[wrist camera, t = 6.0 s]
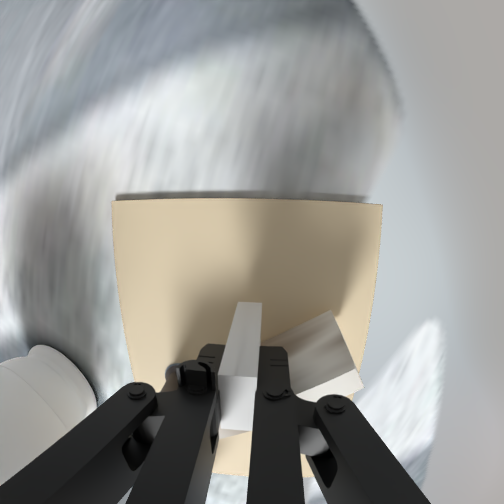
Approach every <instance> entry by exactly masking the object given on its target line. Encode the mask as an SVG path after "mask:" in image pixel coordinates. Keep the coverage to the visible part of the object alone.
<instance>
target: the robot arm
mask: <svg viewBox="0 0 504 504" xmlns="http://www.w3.org/2000/svg"><path fill="white" fill-rule="evenodd" d="M261 320H262V303H255V302H238V303H237V307H236V311H235V314H234V318H233V321H232V325H231V329H230V332H229V336H228V339H227V343H226V345H222V344H209V343H208V344H206V345H205V346H204V347H203V348H201V350H200V352H199V355H198V357H197V359H196V360H188V361H184V362H182V363H180V364H179V365H178V366H177V367H176V373H177V380H178V389H177V390H174V391H170V392H156V391H155V389H154V388H153V386H151V385H150V384H148V383H144V382H133V383H129V384H127V385H125V386H123V387H122V388H121V389H120V390H118V391H117V392H116V393H115V394H114V395H112V396H111V397H110V398H109V399H108V400H106V401H105V402H104V403H103V404H102V405H100V406H99V407H98V408H97V409H96V410H94V411H93V412H92V413H91V414H90V415H88V416H87V417H86V418H85V419H83V420H82V421H81V422H80V423H79V424H77V425H76V426H75V427H74V428H72V429H71V430H70V431H69V432H68V433H66V434H65V435H64V436H63V437H61V438H60V439H59V440H58V441H56V442H55V443H54V444H53V445H51V446H50V447H49V448H48V449H47V450H45V451H44V452H43V453H42V454H40V455H39V456H38V457H36V458H35V459H34V460H33V461H31V462H30V463H29V464H28V465H26V466H25V467H24V468H23V469H21V470H20V471H19V472H17V473H16V474H15V475H14V476H12V477H11V478H10V479H8V480H7V481H6V482H5V483H3V484H2V485H1V486H0V504H117V503H118V502H119V501H120V500H121V499H122V497H123V496H124V495H125V494H126V493H127V492H128V490H129V489H130V488H131V487H132V486H133V485H134V486H133V488H132V490H131V492H130V495H129V497H128V499H127V501H126V504H205V501H206V497H207V492H208V488H209V483H210V479H211V474H212V470H213V465H214V460H215V456H216V451H217V447H218V442H219V426H220V424H221V429H231V430H244V431H252V441H251V454H250V466H249V479H248V491H247V502H246V504H305V499H304V487H303V476H302V465H301V454H305V457H306V459H307V462H308V464H309V466H310V468H311V470H312V472H313V474H314V476H315V479H316V481H317V483H318V485H319V487H320V489H321V491H322V493H323V495H324V497H325V499H326V502H327V504H431V503H430V502H429V500H428V499H427V498H426V497H425V495H424V494H423V493H422V491H421V490H420V489H419V488H418V486H417V485H416V484H415V482H414V481H413V480H412V478H411V477H410V476H409V475H408V473H407V472H406V471H405V469H404V468H403V467H402V466H401V464H400V463H399V462H398V460H397V459H396V458H395V456H394V455H393V454H392V453H391V451H390V450H389V449H388V447H387V446H386V445H385V443H384V442H383V441H382V439H381V438H380V437H379V435H378V434H377V433H376V432H375V430H374V429H373V428H372V426H371V425H370V424H369V422H368V421H367V420H366V418H365V417H364V416H363V414H362V413H361V412H360V410H359V409H358V408H357V407H356V405H355V404H354V403H353V402H352V401H351V400H350V399H349V398H347V397H345V396H343V395H337V394H330V395H326V396H323V397H321V398H320V399H319V400H317V402H312V401H307V400H304V399H301V398H299V397H298V396H296V395H295V394H294V392H293V390H292V389H291V384H290V373H289V363H288V353H287V351H286V350H285V349H284V348H283V347H282V346H261Z"/></svg>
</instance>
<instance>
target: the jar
mask: <svg viewBox="0 0 504 504" xmlns="http://www.w3.org/2000/svg"><path fill="white" fill-rule="evenodd" d="M96 409H97V403H96V398H95V395H94V392H93V390H92V388H91V386H90V384H89V383H88V381H87V380H86V378H85V377H84V375H83V374H82V373H81V372H80V370H79V369H78V368H77V367H76V366H75V365H74V364H73V363H72V362H71V361H70V360H69V359H68V358H67V357H65V356H64V355H63V354H62V353H60V352H59V351H57V350H55V349H53V348H51V347H49V346H46V345H36V346H34V347H33V348H31V350H30V351H29V353H28V356H27V357H18V358H13V359H10V360H7V361H4V362H2V363H0V486H1V485H2V484H3V483H5V482H6V481H7V480H8V479H10V478H11V477H12V476H14V475H15V474H16V473H17V472H19V471H20V470H21V469H23V468H24V467H25V466H26V465H28V464H29V463H30V462H31V461H33V460H34V459H35V458H36V457H38V456H39V455H40V454H42V453H43V452H44V451H45V450H47V449H48V448H49V447H50V446H51V445H53V444H54V443H55V442H56V441H58V440H59V439H60V438H61V437H63V436H64V435H65V434H66V433H68V432H69V431H70V430H71V429H72V428H74V427H75V426H76V425H77V424H79V423H80V422H81V421H82V420H83V419H85V418H86V417H87V416H88V415H90V414H91V413H92V412H93V411H94V410H96Z"/></svg>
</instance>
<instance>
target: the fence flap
mask: <svg viewBox="0 0 504 504" xmlns="http://www.w3.org/2000/svg"><path fill="white" fill-rule="evenodd" d="M261 346H282V347H283V348H284V349H285V350H286V351H287V353H288V363H289V373H290V384H291V389H292V390H293V392H294V394H295V395H296V396H298V397H299V398H301V399H304V400H307V401H312V402H317V400H319V399H320V398H321V397H323V396H326V395H330V394H337V395H343V396H345V397H346V396H348V395H350V394H352V393H354V392H357V391H359V390H361V389H363V388H364V385H363V383H362V381H361V378H360V376H359V373H358V370H357V368H356V366H355V363H354V361H353V358H352V356H351V354H350V351H349V349H348V347H347V344H346V342H345V340H344V337H343V335H342V333H341V330H340V328H339V326H338V324H337V322H336V319H335V317H334V315H333V313H332V311H331V310H329V311H327V312H325V313H323V314H321V315H319V316H317V317H315V318H313V319H311V320H309V321H306V322H304V323H302V324H300V325H298V326H296V327H294V328H292V329H289V330H287V331H285V332H283V333H281V334H279V335H276V336H274V337H272V338H270V339H267V340H265V341H263V342H261ZM177 389H178V380H177V373H176V372H173V373H171V374H170V375H169V377H168V379H167V381H166V382H165V384H164V386H163V388H162V390H161V391H160V392H170V391H174V390H177ZM245 432H249V431H244V430H231V429H221V424H220V426H219V439H222V438H226V437H230V436H234V435H238V434H242V433H245Z"/></svg>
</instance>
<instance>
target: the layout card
mask: <svg viewBox="0 0 504 504" xmlns="http://www.w3.org/2000/svg"><path fill="white" fill-rule="evenodd" d="M382 208H383V205H381V204H368V203H354V202H337V201H318V200H294V199H256V198H181V199H144V200H121V201H112V227H113V243H114V256H115V267H116V277H117V286H118V294H119V301H120V308H121V315H122V321H123V327H124V333H125V338H126V344H127V349H128V354H129V359H130V363H131V368H132V372H133V377H134V381H135V382H144V383H148V384H150V385H151V386H153V388H154V389H155V391H156V392H160V391H161V390H162V388H163V386H164V384H165V382H166V379H165V374H166V371H167V370H168V369H169V368H170V367H171V366H174V365H179V364H180V363H182V362H184V361H188V360H196V359H197V357H198V355H199V352H200V350H201V348H203V347H204V346H205V345H206V344H208V343H209V344H222V345H226V343H227V339H228V336H229V332H230V329H231V325H232V321H233V318H234V314H235V311H236V307H237V303H238V302H255V303H262V320H261V342H263V341H265V340H267V339H270V338H272V337H274V336H276V335H279V334H281V333H283V332H285V331H287V330H289V329H292V328H294V327H296V326H298V325H300V324H302V323H304V322H306V321H309V320H311V319H313V318H315V317H317V316H319V315H321V314H323V313H325V312H327V311H329V310H331V311H332V313H333V315H334V317H335V319H336V322H337V324H338V326H339V328H340V330H341V333H342V335H343V337H344V340H345V342H346V344H347V347H348V349H349V351H350V354H351V356H352V358H353V361H354V363H355V366H356V368H357V370H358V373H359V371H360V367H361V363H362V358H363V353H364V349H365V344H366V339H367V334H368V328H369V323H370V316H371V311H372V305H373V298H374V291H375V283H376V276H377V268H378V259H379V247H380V237H381V225H382ZM353 395H354V393H352V394H350V395H348V396H346V397H347V398H349V399H350V400H351V401H352V399H353ZM251 441H252V431H249V432H245V433H242V434H238V435H234V436H230V437H226V438H222V439H219V442H218V447H217V451H216V456H215V460H214V465H213V470H212V473H219V474H228V475H238V476H249V466H250V454H251ZM301 465H302V476H303V477H315V476H314V474H313V472H312V470H311V468H310V466H309V464H308V462H307V459H306V457H305V454H301Z"/></svg>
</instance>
